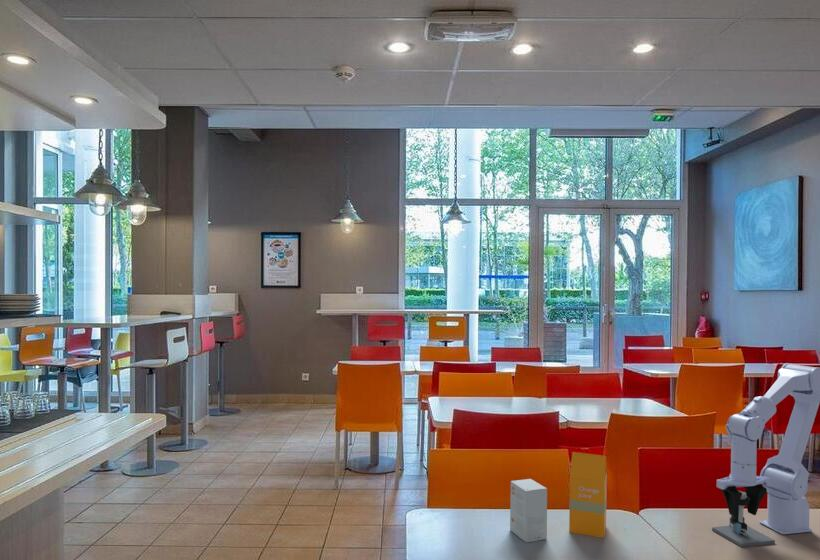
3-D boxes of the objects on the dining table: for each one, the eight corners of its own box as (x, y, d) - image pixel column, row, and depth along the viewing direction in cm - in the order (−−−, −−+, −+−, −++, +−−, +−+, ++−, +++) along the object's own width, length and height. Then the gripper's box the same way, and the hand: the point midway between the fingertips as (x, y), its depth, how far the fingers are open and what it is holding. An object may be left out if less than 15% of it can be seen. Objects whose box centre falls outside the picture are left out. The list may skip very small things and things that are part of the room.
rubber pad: (744, 527, 160) (744, 524, 160) (774, 543, 150) (774, 540, 150) (712, 530, 158) (712, 527, 158) (741, 547, 148) (741, 543, 148)
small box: (547, 539, 151) (547, 488, 151) (525, 543, 149) (526, 491, 149) (530, 526, 159) (530, 478, 159) (509, 530, 157) (509, 480, 157)
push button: (756, 538, 152) (757, 498, 152) (735, 537, 152) (736, 498, 152) (742, 527, 158) (743, 489, 158) (721, 526, 158) (723, 488, 158)
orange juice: (604, 537, 153) (605, 459, 153) (568, 532, 156) (569, 455, 156) (606, 526, 160) (607, 451, 160) (572, 520, 163) (573, 447, 163)
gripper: (755, 455, 160) (754, 506, 160) (708, 458, 156) (707, 510, 156) (776, 463, 153) (776, 516, 153) (728, 467, 149) (727, 521, 150)
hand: (742, 514), depth 154 cm, fingers closed on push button, 5 cm apart
